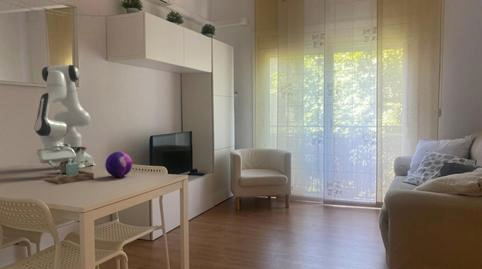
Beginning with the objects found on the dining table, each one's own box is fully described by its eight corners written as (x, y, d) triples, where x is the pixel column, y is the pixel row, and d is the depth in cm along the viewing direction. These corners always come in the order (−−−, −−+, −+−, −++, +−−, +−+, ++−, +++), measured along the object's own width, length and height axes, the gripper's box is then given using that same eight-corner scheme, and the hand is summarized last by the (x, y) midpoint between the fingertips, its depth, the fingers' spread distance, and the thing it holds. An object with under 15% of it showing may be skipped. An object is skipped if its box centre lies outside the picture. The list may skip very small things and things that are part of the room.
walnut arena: (78, 175, 218) (78, 169, 218) (93, 179, 208) (93, 173, 207) (44, 180, 203) (44, 174, 203) (59, 184, 192) (59, 177, 192)
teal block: (75, 176, 209) (74, 162, 208) (78, 177, 206) (78, 163, 206) (66, 177, 205) (66, 163, 204) (69, 178, 202) (69, 164, 202)
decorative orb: (121, 173, 226) (121, 149, 225) (137, 176, 217) (137, 151, 216) (100, 177, 213) (99, 152, 212) (116, 180, 205) (115, 153, 204)
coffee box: (57, 167, 223) (67, 146, 234) (61, 172, 228) (71, 152, 238) (71, 167, 223) (81, 146, 233) (75, 173, 227) (84, 152, 238)
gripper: (37, 146, 209) (45, 164, 203) (72, 143, 225) (80, 161, 219) (34, 153, 212) (42, 171, 206) (68, 150, 228) (77, 167, 222)
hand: (62, 166), depth 213 cm, fingers open, 8 cm apart
